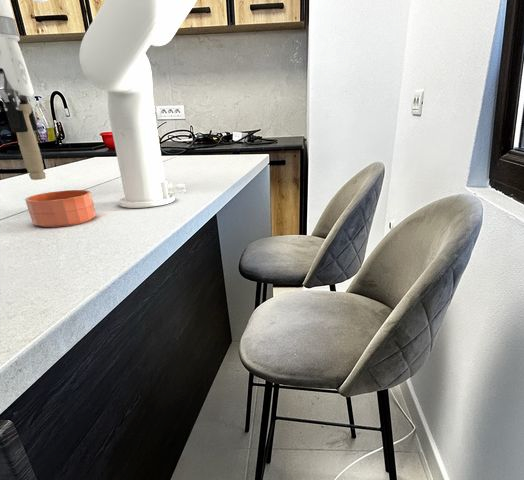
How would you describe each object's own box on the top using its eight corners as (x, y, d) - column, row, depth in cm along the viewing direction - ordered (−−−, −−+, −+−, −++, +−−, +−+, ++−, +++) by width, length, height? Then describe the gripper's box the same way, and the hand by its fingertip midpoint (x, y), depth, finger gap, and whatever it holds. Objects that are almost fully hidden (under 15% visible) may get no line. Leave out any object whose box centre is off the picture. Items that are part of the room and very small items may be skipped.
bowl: (100, 212, 93) (95, 188, 91) (90, 225, 82) (83, 198, 80) (43, 217, 92) (35, 192, 89) (24, 230, 81) (16, 203, 79)
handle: (51, 176, 103) (31, 104, 95) (48, 179, 97) (26, 103, 90) (29, 178, 102) (7, 105, 94) (25, 182, 96) (1, 105, 89)
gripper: (0, 22, 79) (31, 132, 88) (30, 37, 94) (53, 129, 103) (-43, 24, 78) (-8, 134, 87) (-7, 38, 93) (20, 131, 102)
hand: (25, 130), depth 95 cm, fingers closed on handle, 6 cm apart
